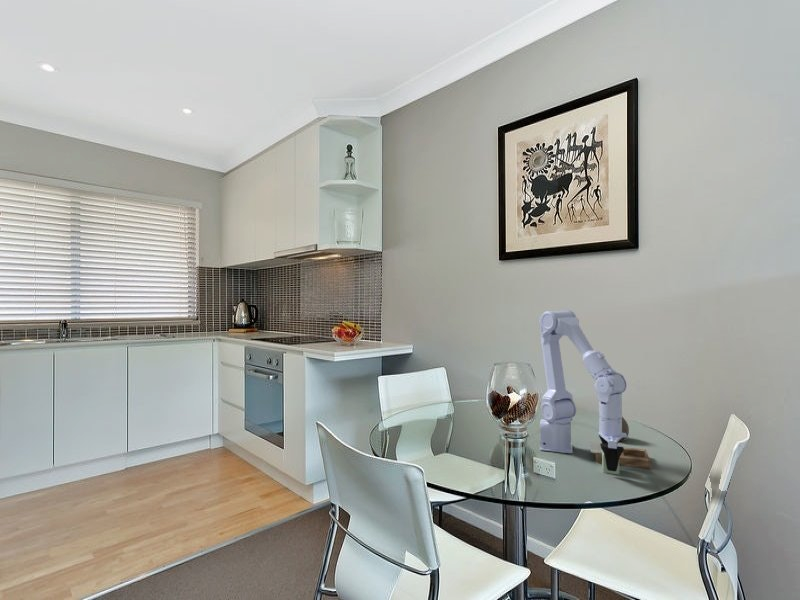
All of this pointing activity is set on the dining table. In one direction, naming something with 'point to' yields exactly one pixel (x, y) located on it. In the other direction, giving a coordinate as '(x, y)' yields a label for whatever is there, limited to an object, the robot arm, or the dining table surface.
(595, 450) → the cover
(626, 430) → the vase
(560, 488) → the dining table surface
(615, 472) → the block
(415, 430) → the dining table surface
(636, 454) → the wooden tray
